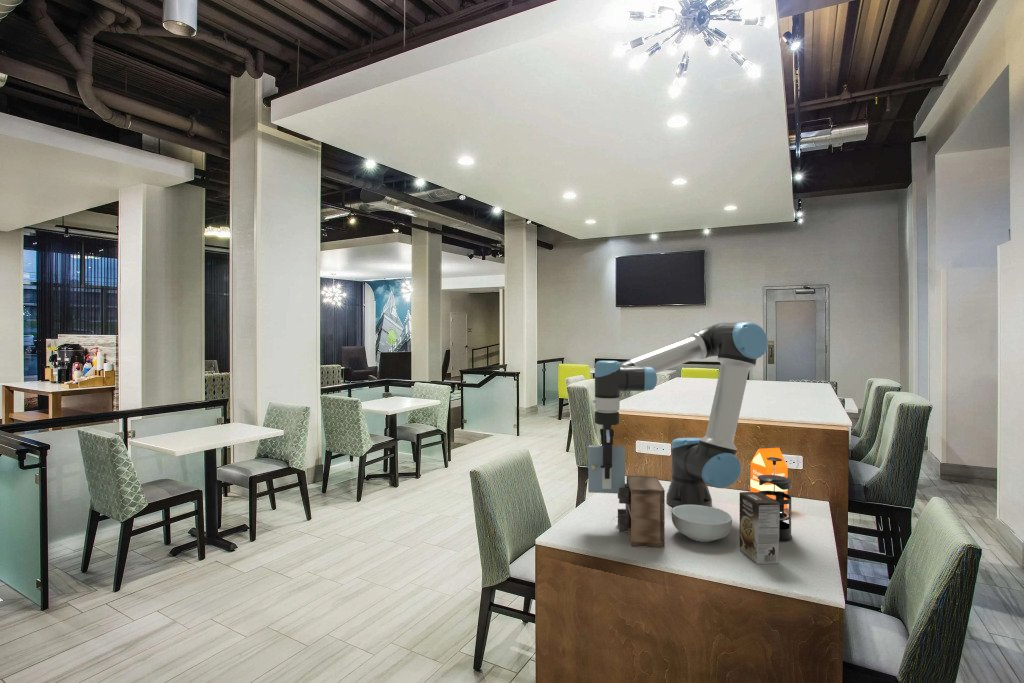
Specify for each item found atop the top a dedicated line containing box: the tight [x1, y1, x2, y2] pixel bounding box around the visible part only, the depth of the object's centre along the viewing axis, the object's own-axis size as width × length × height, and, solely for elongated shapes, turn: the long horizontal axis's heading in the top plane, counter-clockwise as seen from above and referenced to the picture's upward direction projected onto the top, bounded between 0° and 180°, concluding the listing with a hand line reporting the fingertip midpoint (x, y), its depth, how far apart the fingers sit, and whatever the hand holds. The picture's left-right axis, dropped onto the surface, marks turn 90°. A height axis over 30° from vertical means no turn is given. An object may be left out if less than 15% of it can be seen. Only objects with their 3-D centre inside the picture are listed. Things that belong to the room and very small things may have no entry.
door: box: [587, 444, 626, 495], centre depth 158 cm, size 11×4×14 cm, turn 83°
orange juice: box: [749, 447, 789, 509], centre depth 178 cm, size 8×9×20 cm
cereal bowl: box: [671, 505, 733, 543], centre depth 151 cm, size 17×17×7 cm
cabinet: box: [617, 475, 666, 548], centre depth 152 cm, size 12×16×16 cm
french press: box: [758, 457, 793, 543], centre depth 152 cm, size 12×9×23 cm
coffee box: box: [738, 491, 780, 565], centre depth 137 cm, size 9×6×16 cm
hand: (606, 486), depth 158 cm, fingers closed on door, 2 cm apart
